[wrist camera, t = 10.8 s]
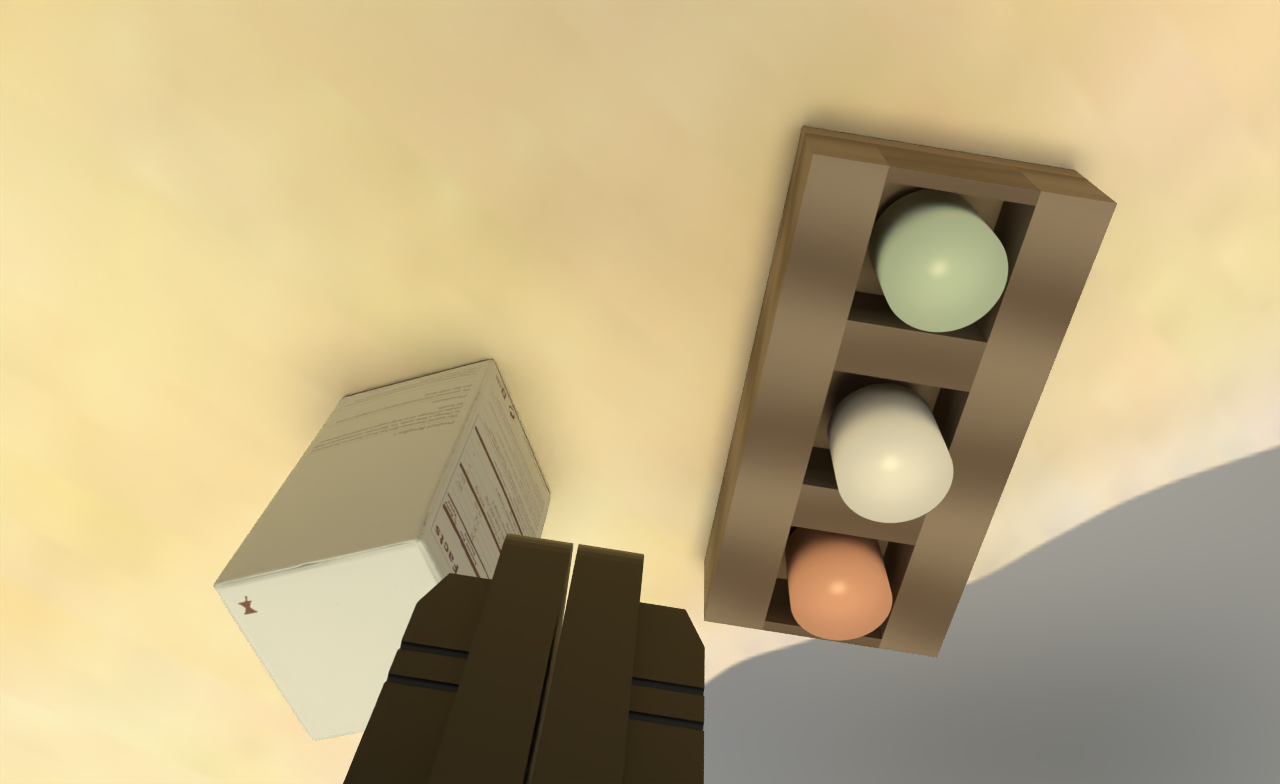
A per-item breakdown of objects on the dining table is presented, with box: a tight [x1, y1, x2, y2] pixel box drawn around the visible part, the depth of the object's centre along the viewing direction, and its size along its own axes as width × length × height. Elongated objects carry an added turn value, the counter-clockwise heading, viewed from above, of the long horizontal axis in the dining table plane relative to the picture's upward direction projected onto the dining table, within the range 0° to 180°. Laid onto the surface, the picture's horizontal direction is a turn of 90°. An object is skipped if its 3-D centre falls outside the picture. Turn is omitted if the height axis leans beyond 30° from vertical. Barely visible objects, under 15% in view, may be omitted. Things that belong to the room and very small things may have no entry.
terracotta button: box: [785, 527, 892, 640], centre depth 39 cm, size 4×4×3 cm
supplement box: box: [213, 360, 550, 741], centre depth 36 cm, size 7×7×13 cm
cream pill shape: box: [827, 384, 953, 523], centre depth 35 cm, size 4×4×3 cm
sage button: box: [869, 189, 1008, 332], centre depth 33 cm, size 4×4×3 cm
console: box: [704, 126, 1117, 657], centre depth 37 cm, size 20×10×4 cm, turn 172°
